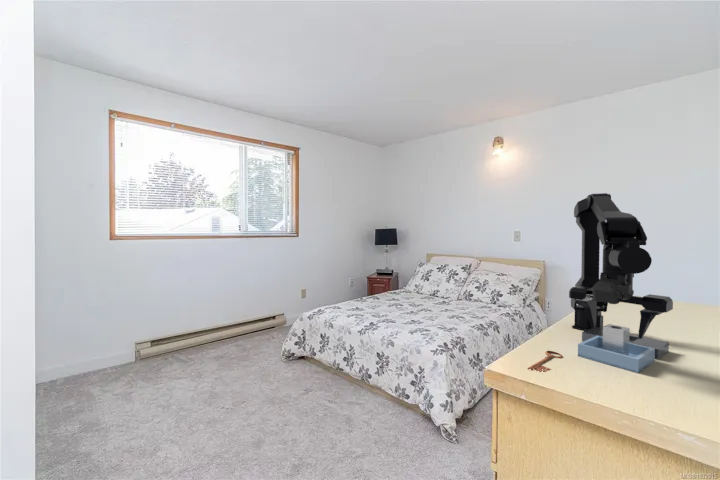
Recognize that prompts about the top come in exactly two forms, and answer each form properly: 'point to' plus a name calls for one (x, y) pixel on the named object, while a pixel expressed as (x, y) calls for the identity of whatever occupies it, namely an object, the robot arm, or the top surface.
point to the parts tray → (617, 355)
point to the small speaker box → (616, 339)
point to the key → (545, 361)
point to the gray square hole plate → (633, 341)
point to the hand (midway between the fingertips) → (616, 333)
